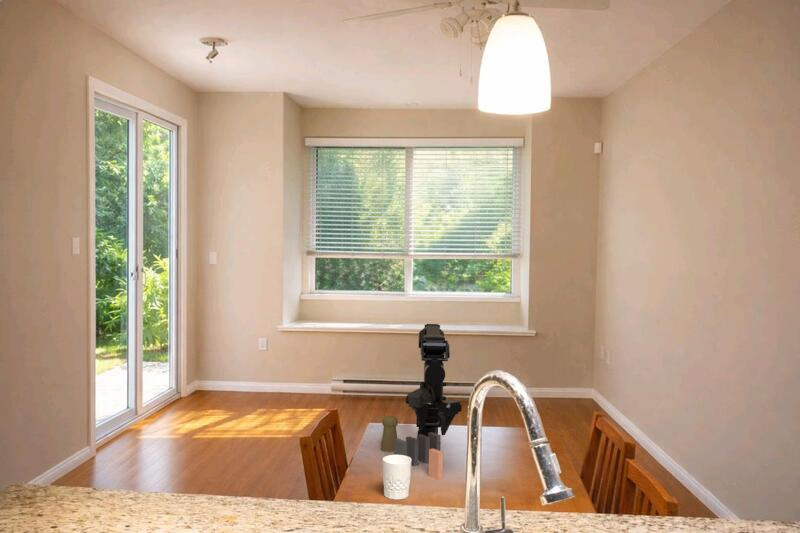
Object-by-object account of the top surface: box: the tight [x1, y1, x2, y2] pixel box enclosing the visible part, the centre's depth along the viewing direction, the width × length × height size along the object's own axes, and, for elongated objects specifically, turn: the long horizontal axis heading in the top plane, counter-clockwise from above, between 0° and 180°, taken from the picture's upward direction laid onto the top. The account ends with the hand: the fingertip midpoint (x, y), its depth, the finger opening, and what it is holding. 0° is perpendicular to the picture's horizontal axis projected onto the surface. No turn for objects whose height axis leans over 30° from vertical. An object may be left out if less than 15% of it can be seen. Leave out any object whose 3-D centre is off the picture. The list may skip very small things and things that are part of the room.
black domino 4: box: [393, 438, 407, 456], centre depth 209 cm, size 2×4×8 cm, turn 37°
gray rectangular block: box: [428, 432, 442, 451], centre depth 217 cm, size 2×4×8 cm, turn 37°
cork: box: [380, 415, 399, 453], centre depth 227 cm, size 6×6×11 cm
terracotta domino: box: [428, 449, 444, 481], centre depth 200 cm, size 2×4×8 cm, turn 37°
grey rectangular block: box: [405, 436, 419, 467], centre depth 212 cm, size 2×4×8 cm, turn 37°
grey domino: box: [416, 434, 430, 464], centre depth 215 cm, size 2×4×8 cm, turn 37°
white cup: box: [382, 454, 412, 500], centre depth 185 cm, size 8×8×10 cm
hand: (432, 432), depth 199 cm, fingers open, 9 cm apart
